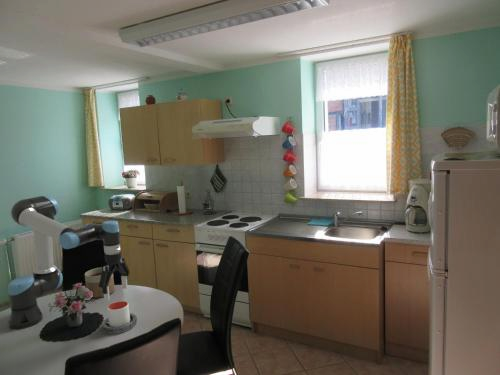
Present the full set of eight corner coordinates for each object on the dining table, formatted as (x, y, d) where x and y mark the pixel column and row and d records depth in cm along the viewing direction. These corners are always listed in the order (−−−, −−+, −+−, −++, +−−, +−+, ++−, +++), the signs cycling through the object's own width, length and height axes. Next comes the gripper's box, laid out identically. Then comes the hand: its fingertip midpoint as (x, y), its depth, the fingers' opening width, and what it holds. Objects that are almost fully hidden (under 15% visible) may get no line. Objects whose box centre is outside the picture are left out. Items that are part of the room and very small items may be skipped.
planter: (81, 298, 221) (79, 276, 219) (96, 287, 237) (94, 267, 235) (105, 299, 219) (103, 276, 217) (119, 288, 234) (117, 267, 232)
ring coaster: (95, 331, 181) (95, 326, 181) (117, 316, 196) (116, 311, 196) (123, 335, 176) (122, 330, 176) (142, 319, 191) (142, 314, 191)
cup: (123, 329, 180) (121, 310, 179) (105, 328, 182) (103, 309, 181) (134, 319, 190) (132, 301, 189) (116, 318, 192) (114, 300, 191)
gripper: (101, 261, 168) (105, 305, 171) (134, 245, 192) (137, 284, 195) (88, 260, 171) (92, 303, 174) (122, 244, 194) (125, 283, 197)
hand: (116, 293), depth 184 cm, fingers open, 13 cm apart
